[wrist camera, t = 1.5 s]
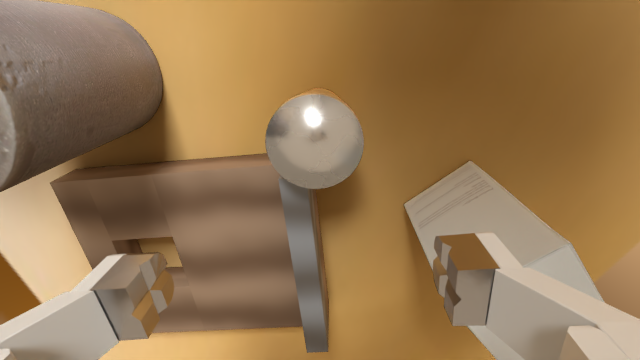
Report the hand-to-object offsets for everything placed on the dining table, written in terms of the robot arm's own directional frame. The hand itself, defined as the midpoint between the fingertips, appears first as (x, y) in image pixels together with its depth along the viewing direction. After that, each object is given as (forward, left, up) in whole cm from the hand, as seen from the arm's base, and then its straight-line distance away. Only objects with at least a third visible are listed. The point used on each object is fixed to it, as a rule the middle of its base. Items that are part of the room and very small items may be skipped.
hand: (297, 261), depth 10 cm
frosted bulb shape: (0, 0, -19) cm, 19 cm away
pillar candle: (-5, -17, -19) cm, 26 cm away
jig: (+12, -12, -19) cm, 25 cm away
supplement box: (+10, +12, -19) cm, 25 cm away
